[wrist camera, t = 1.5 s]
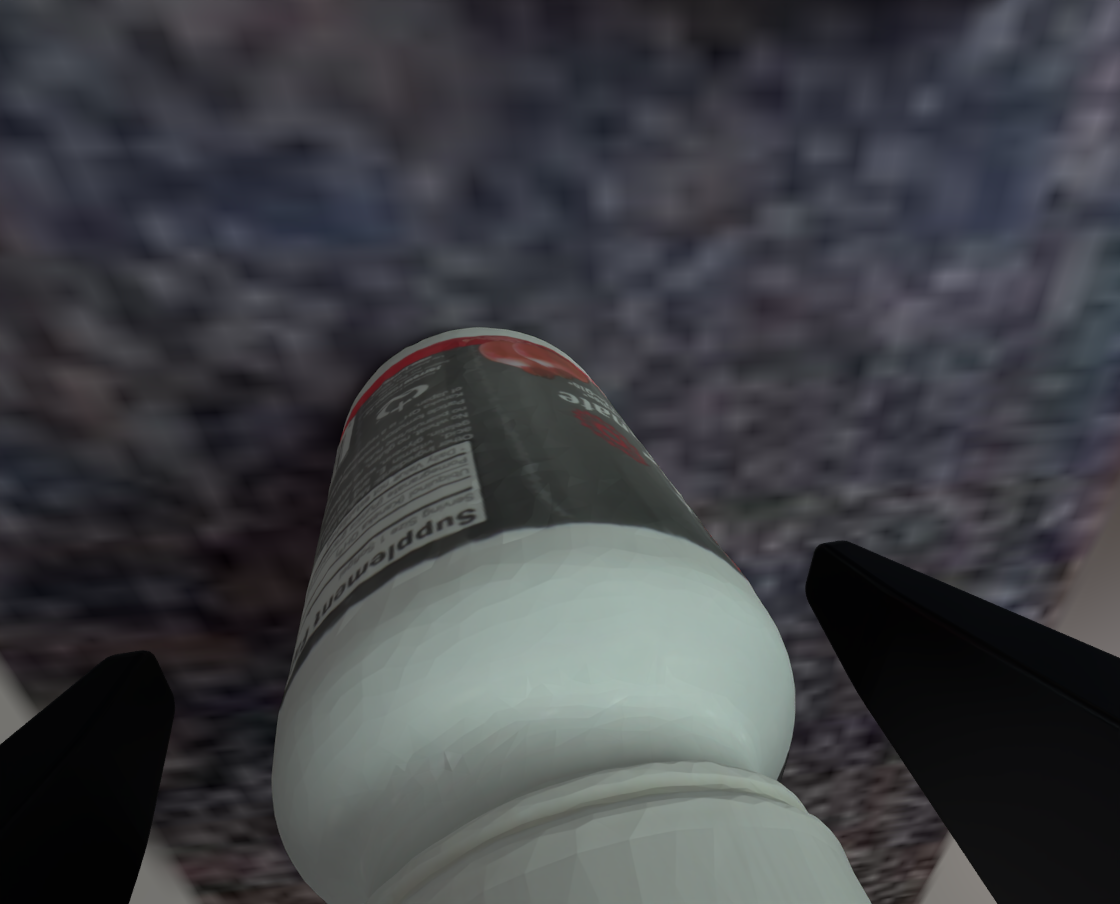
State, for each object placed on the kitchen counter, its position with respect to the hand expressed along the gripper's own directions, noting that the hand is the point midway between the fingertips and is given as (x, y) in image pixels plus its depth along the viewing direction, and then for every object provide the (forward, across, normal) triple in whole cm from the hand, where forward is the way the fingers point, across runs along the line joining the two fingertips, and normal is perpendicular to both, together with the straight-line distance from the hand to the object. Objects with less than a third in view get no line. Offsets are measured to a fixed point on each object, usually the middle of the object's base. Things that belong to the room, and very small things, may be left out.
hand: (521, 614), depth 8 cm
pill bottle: (+5, 0, 0) cm, 5 cm away
